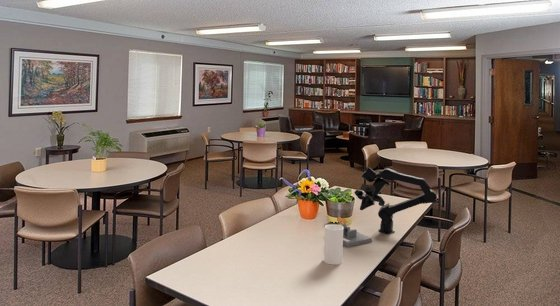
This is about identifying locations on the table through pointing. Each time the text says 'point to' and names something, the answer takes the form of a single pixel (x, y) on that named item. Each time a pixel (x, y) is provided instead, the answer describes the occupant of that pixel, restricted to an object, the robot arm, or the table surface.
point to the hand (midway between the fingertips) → (360, 209)
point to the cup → (333, 244)
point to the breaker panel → (354, 238)
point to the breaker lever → (343, 223)
